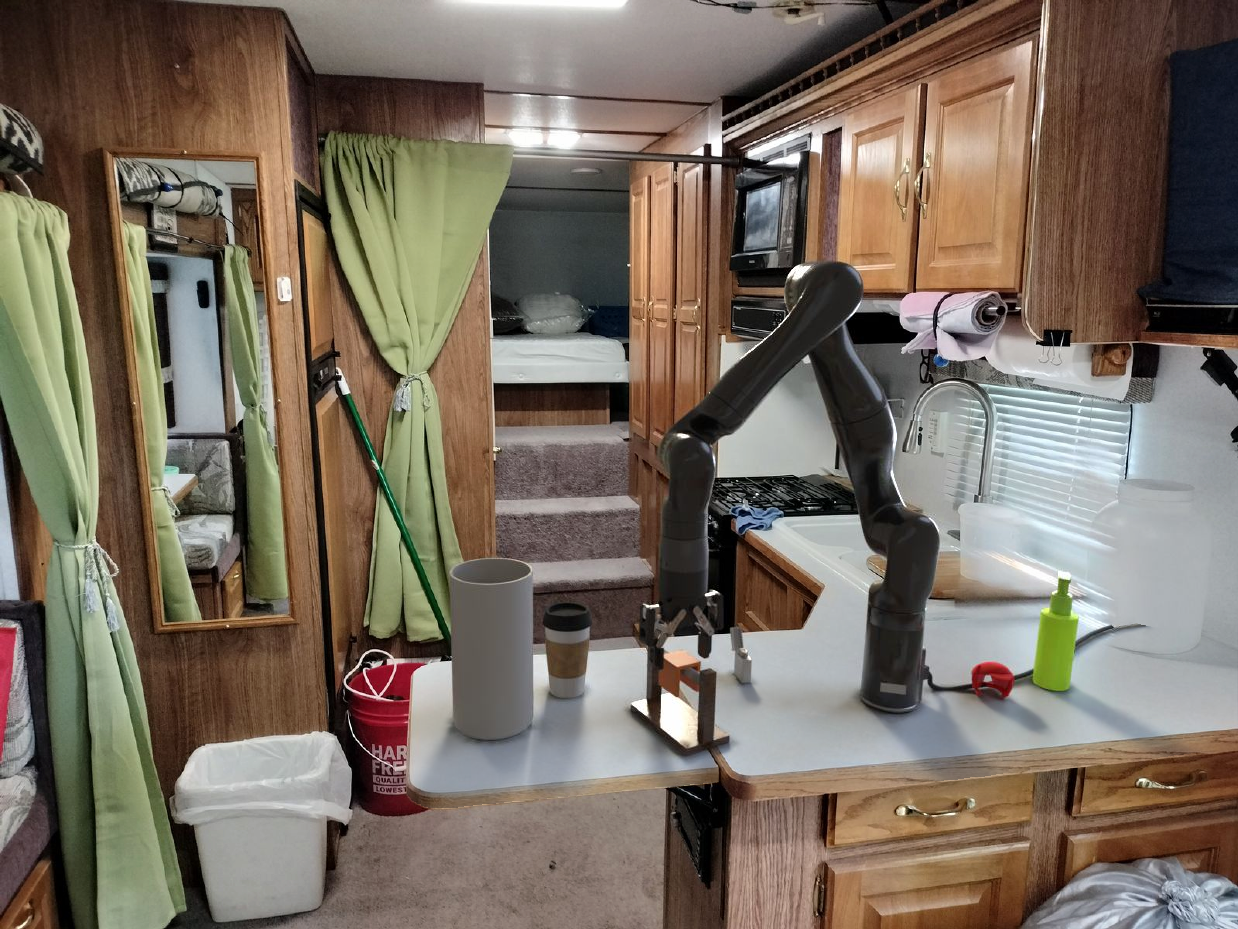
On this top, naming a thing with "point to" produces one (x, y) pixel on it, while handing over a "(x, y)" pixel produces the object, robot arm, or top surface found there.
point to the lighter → (740, 656)
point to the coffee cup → (567, 647)
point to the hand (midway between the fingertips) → (681, 662)
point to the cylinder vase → (492, 647)
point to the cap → (993, 677)
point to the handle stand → (682, 712)
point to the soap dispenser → (1056, 639)
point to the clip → (677, 671)
